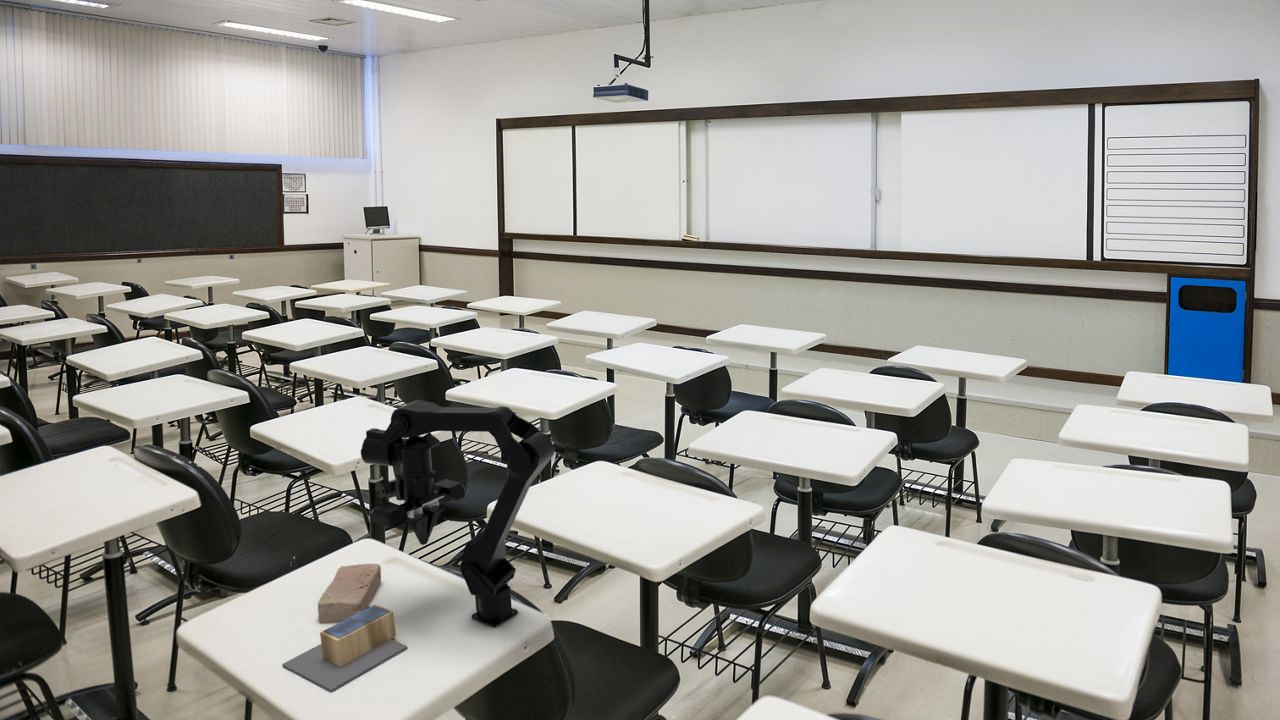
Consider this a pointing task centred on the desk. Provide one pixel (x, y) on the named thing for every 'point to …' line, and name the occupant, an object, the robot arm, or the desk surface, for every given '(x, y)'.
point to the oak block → (357, 635)
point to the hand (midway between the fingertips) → (423, 543)
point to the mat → (335, 676)
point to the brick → (349, 592)
